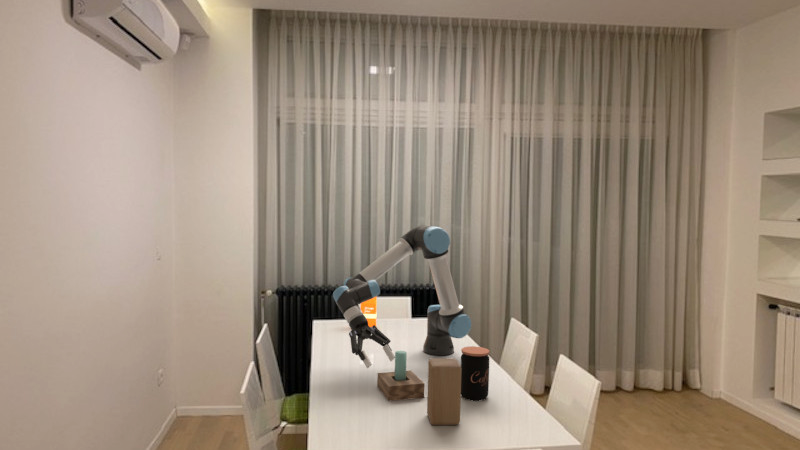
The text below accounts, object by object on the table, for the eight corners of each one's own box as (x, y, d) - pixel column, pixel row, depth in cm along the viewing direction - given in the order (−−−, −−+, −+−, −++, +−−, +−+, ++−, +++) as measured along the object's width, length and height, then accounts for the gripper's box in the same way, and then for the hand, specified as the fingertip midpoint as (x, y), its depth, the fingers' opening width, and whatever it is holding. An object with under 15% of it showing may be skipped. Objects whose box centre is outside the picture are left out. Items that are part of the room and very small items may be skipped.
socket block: (410, 383, 226) (410, 370, 226) (424, 397, 211) (424, 383, 210) (377, 386, 222) (377, 373, 221) (388, 400, 206) (388, 386, 206)
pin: (403, 385, 219) (404, 350, 218) (407, 389, 215) (408, 353, 214) (393, 386, 218) (393, 351, 217) (396, 390, 213) (397, 354, 213)
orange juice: (375, 328, 319) (376, 294, 318) (360, 328, 319) (360, 293, 318) (376, 325, 327) (377, 291, 326) (361, 325, 327) (361, 291, 326)
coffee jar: (470, 403, 206) (471, 355, 205) (454, 394, 215) (455, 348, 215) (493, 399, 211) (495, 352, 210) (477, 390, 220) (478, 345, 219)
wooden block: (426, 414, 194) (428, 357, 194) (455, 414, 195) (456, 357, 194) (430, 426, 185) (432, 366, 184) (460, 425, 185) (462, 366, 184)
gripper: (372, 320, 243) (397, 361, 234) (329, 329, 225) (353, 374, 215) (381, 310, 240) (407, 351, 230) (338, 318, 221) (364, 364, 212)
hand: (381, 362), depth 223 cm, fingers open, 13 cm apart
